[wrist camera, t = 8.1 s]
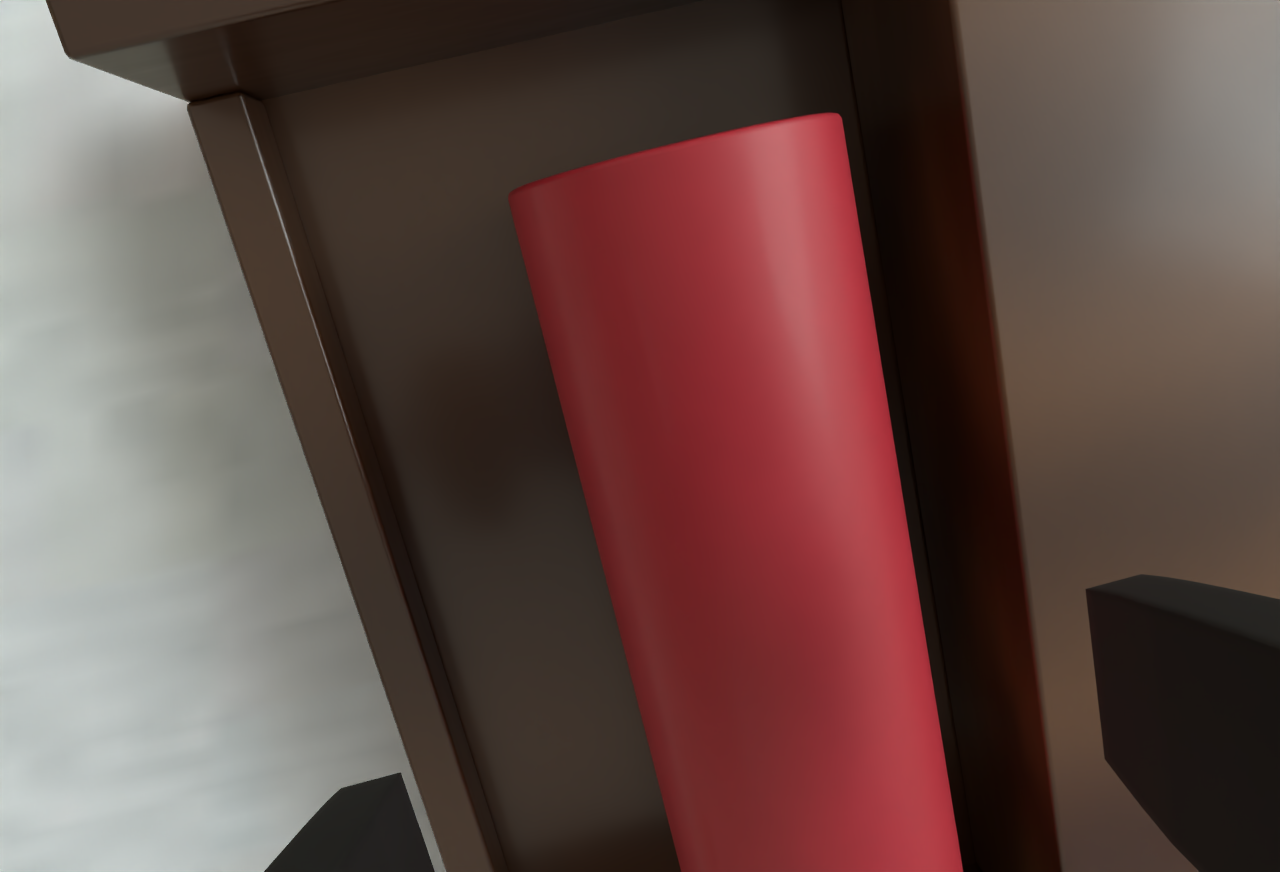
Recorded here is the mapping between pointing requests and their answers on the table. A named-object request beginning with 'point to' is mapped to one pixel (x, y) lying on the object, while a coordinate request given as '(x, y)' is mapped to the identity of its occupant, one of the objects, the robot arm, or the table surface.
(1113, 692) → the robot arm
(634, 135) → the dark wooden tray
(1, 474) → the table surface
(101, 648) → the table surface
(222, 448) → the table surface
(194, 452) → the table surface
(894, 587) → the red cylinder
